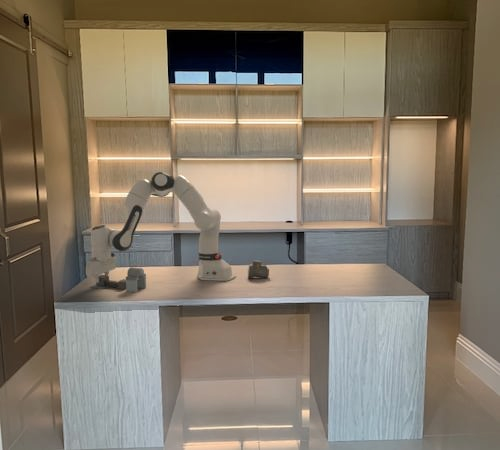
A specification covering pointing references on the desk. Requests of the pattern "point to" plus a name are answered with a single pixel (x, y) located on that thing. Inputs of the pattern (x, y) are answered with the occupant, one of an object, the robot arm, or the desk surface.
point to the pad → (98, 286)
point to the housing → (135, 279)
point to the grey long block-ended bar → (111, 282)
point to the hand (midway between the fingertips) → (101, 281)
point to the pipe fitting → (258, 270)
